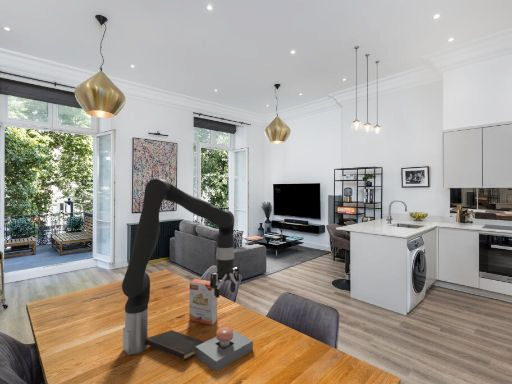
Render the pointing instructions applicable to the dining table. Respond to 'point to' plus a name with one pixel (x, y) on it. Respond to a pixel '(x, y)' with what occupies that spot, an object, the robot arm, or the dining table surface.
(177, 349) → the hardcover book
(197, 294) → the cracker box
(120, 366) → the dining table surface
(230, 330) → the knob
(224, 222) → the robot arm
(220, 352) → the mount
